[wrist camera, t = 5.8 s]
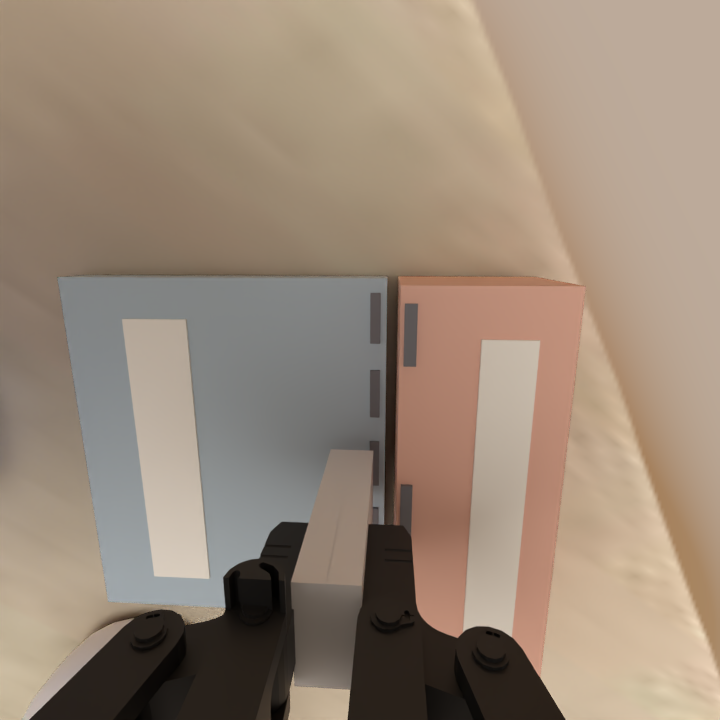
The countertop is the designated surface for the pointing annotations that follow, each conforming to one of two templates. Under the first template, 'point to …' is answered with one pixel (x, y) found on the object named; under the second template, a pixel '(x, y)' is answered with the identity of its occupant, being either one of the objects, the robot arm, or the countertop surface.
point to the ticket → (217, 414)
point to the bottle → (73, 665)
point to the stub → (484, 445)
